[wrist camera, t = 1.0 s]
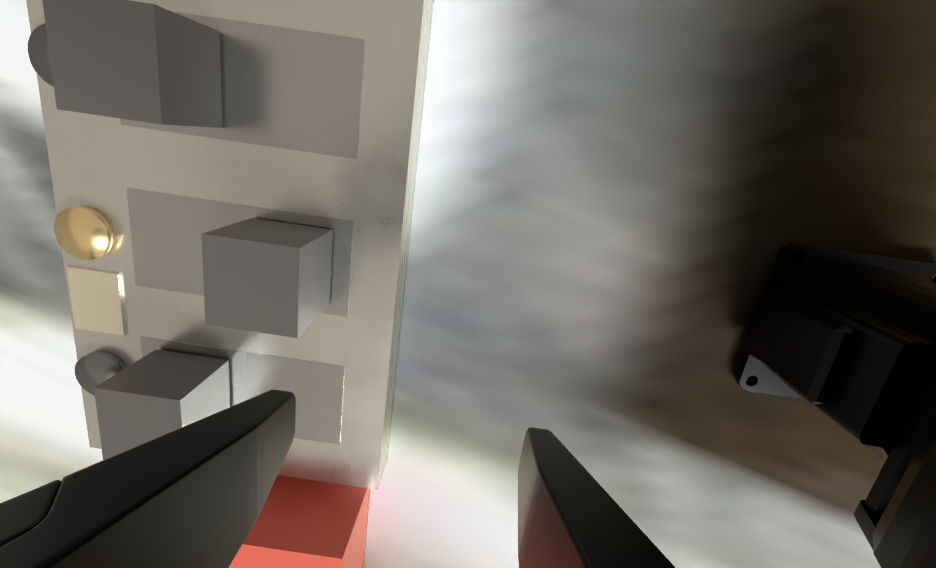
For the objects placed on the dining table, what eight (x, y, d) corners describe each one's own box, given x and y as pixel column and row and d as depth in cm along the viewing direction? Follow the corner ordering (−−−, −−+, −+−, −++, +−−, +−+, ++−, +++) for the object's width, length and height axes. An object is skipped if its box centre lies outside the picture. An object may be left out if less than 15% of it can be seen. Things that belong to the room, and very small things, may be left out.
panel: (434, -7, 16) (424, -33, 14) (387, 459, 22) (375, 496, 20) (71, -60, 16) (0, -94, 14) (124, 420, 22) (82, 452, 20)
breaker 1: (219, 31, 15) (153, 4, 12) (222, 127, 15) (161, 124, 13) (128, 17, 15) (40, -13, 12) (136, 115, 16) (56, 109, 13)
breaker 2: (228, 360, 18) (180, 400, 15) (230, 422, 19) (184, 471, 16) (155, 349, 18) (93, 387, 15) (161, 412, 19) (103, 459, 16)
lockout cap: (371, 477, 22) (342, 558, 18) (362, 576, 24) (334, 671, 20) (240, 457, 22) (179, 534, 18) (242, 558, 24) (187, 649, 20)
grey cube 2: (332, 229, 16) (299, 248, 14) (329, 306, 17) (297, 337, 14) (251, 217, 16) (201, 233, 14) (252, 294, 17) (205, 324, 14)
